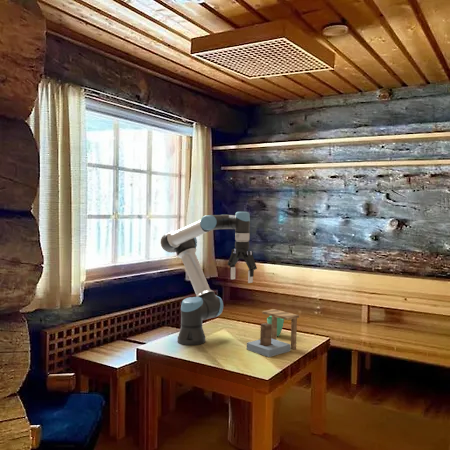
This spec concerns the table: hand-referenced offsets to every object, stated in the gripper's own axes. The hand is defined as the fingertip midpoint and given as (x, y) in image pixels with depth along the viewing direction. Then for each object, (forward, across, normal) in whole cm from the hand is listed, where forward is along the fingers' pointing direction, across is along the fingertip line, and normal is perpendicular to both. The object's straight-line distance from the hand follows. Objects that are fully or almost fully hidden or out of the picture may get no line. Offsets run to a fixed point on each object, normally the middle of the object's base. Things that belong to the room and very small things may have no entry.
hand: (241, 281), depth 262 cm
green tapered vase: (+35, -4, +30) cm, 46 cm away
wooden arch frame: (+35, +15, +15) cm, 41 cm away
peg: (+35, +15, +4) cm, 38 cm away
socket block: (+35, +15, +6) cm, 38 cm away
